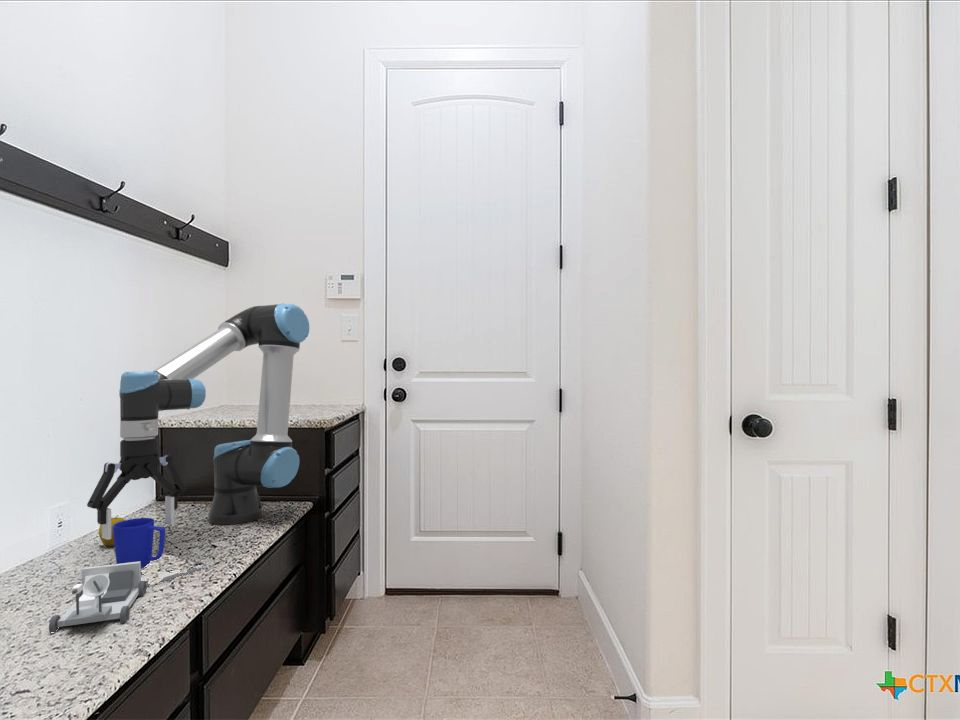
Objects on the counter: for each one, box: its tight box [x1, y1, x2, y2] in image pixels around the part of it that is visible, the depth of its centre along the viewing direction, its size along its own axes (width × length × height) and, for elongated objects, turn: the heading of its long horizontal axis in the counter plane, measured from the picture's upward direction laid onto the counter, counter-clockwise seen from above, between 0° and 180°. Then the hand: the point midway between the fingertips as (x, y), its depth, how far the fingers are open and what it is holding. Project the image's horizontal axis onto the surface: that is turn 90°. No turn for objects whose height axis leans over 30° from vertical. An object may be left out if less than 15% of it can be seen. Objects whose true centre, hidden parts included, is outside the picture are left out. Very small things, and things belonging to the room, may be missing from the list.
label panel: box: [141, 565, 208, 588], centre depth 127 cm, size 16×18×1 cm
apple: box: [98, 515, 126, 547], centre depth 146 cm, size 6×6×8 cm
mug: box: [113, 517, 166, 567], centre depth 129 cm, size 8×12×10 cm
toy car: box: [48, 561, 147, 634], centre depth 105 cm, size 18×10×12 cm
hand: (139, 531), depth 129 cm, fingers open, 13 cm apart
